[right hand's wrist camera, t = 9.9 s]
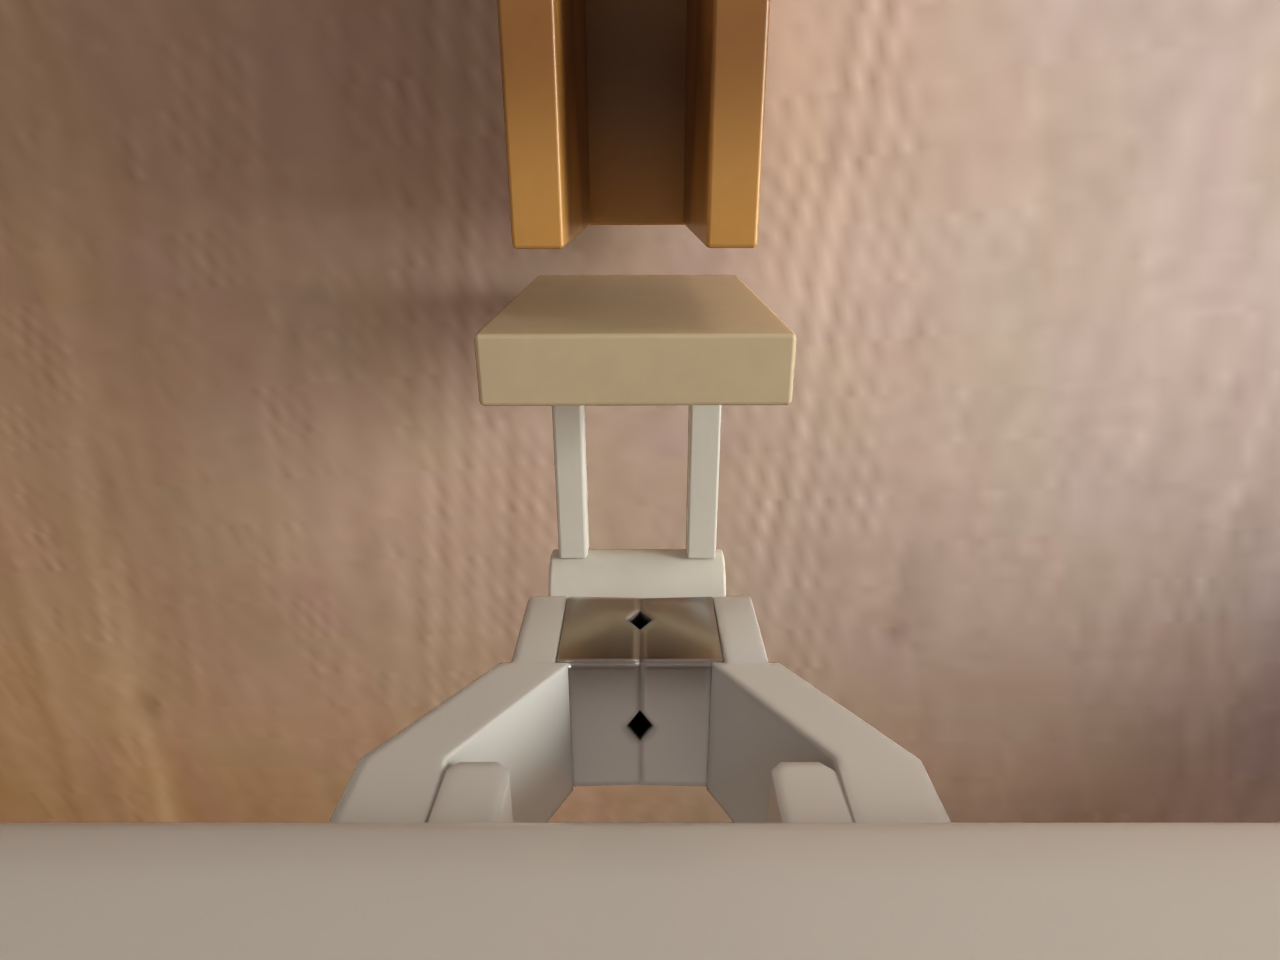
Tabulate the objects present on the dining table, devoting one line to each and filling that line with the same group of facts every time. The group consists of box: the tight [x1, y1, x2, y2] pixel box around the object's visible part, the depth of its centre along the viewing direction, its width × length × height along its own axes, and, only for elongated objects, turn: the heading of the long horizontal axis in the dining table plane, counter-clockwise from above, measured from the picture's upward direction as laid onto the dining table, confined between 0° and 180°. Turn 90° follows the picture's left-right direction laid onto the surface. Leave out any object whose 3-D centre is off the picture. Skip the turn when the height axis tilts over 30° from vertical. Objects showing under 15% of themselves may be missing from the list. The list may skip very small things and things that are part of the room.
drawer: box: [474, 0, 797, 598], centre depth 14 cm, size 23×5×8 cm, turn 0°
